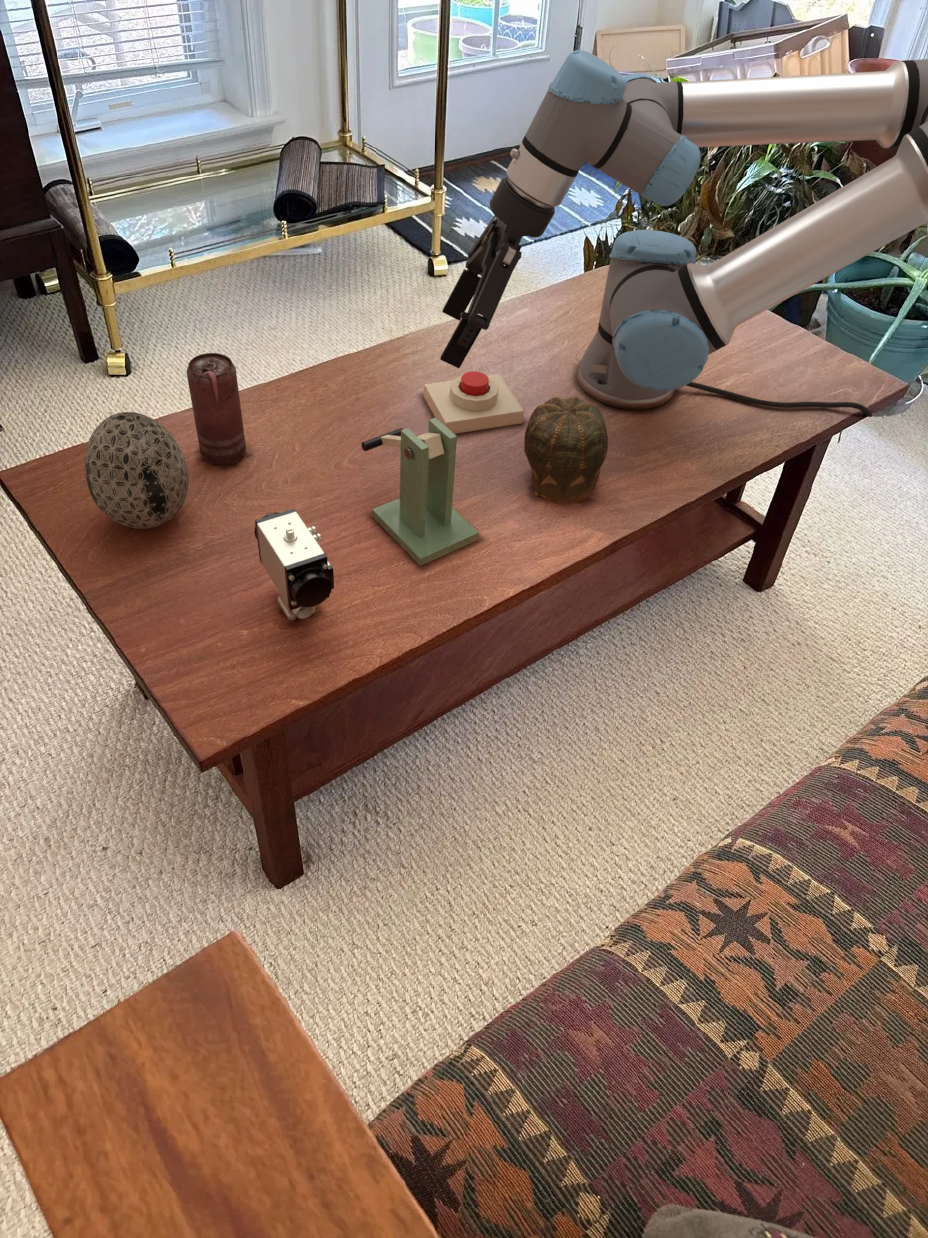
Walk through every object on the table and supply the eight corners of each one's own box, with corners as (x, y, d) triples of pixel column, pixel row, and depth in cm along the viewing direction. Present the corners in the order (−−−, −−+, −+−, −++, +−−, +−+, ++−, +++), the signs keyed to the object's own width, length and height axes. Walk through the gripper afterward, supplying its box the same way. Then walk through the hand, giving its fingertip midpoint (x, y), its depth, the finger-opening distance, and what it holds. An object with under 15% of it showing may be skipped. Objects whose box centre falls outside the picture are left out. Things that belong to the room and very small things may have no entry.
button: (482, 379, 140) (483, 369, 138) (491, 394, 137) (492, 384, 136) (456, 383, 139) (457, 372, 137) (465, 398, 136) (466, 388, 135)
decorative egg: (124, 562, 114) (97, 462, 103) (83, 510, 120) (54, 410, 109) (212, 526, 120) (195, 427, 109) (169, 477, 125) (149, 379, 115)
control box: (498, 386, 145) (500, 363, 142) (522, 423, 139) (525, 400, 136) (423, 396, 142) (424, 373, 139) (444, 435, 136) (446, 411, 133)
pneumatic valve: (298, 647, 107) (291, 570, 98) (259, 582, 113) (248, 504, 105) (343, 631, 109) (340, 554, 100) (301, 568, 115) (295, 490, 107)
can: (209, 472, 127) (194, 382, 117) (195, 446, 130) (179, 356, 120) (253, 461, 129) (242, 372, 119) (238, 436, 133) (226, 346, 122)
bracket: (372, 516, 123) (371, 421, 112) (429, 493, 127) (433, 398, 116) (420, 566, 117) (424, 470, 106) (478, 540, 121) (487, 445, 110)
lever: (363, 455, 121) (358, 437, 120) (403, 440, 124) (398, 422, 123) (415, 464, 110) (410, 444, 109) (457, 448, 113) (453, 428, 112)
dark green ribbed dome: (572, 450, 135) (585, 377, 126) (613, 496, 129) (630, 422, 120) (505, 468, 131) (514, 394, 123) (544, 516, 125) (556, 441, 116)
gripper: (500, 143, 122) (428, 285, 135) (506, 215, 103) (421, 372, 116) (550, 171, 124) (474, 309, 137) (565, 247, 106) (475, 397, 119)
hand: (450, 338), depth 127 cm, fingers open, 13 cm apart
